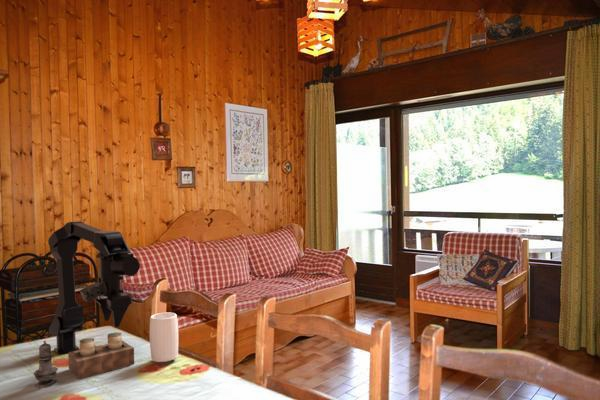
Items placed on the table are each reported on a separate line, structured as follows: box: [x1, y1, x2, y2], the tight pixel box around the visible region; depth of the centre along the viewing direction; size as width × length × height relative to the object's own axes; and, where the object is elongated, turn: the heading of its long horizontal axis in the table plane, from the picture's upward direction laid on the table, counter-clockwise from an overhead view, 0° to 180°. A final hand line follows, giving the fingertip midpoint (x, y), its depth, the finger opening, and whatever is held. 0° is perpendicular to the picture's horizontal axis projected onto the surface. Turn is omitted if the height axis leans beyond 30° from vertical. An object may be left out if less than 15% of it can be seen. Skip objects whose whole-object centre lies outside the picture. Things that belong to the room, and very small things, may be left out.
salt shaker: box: [33, 340, 58, 389], centre depth 127 cm, size 6×6×12 cm
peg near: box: [79, 337, 95, 357], centre depth 136 cm, size 4×4×5 cm
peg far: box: [107, 331, 123, 350], centre depth 141 cm, size 4×4×5 cm
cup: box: [149, 311, 179, 363], centre depth 142 cm, size 8×8×14 cm
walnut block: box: [67, 340, 135, 380], centre depth 139 cm, size 16×10×5 cm, turn 131°
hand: (111, 323), depth 141 cm, fingers open, 8 cm apart
